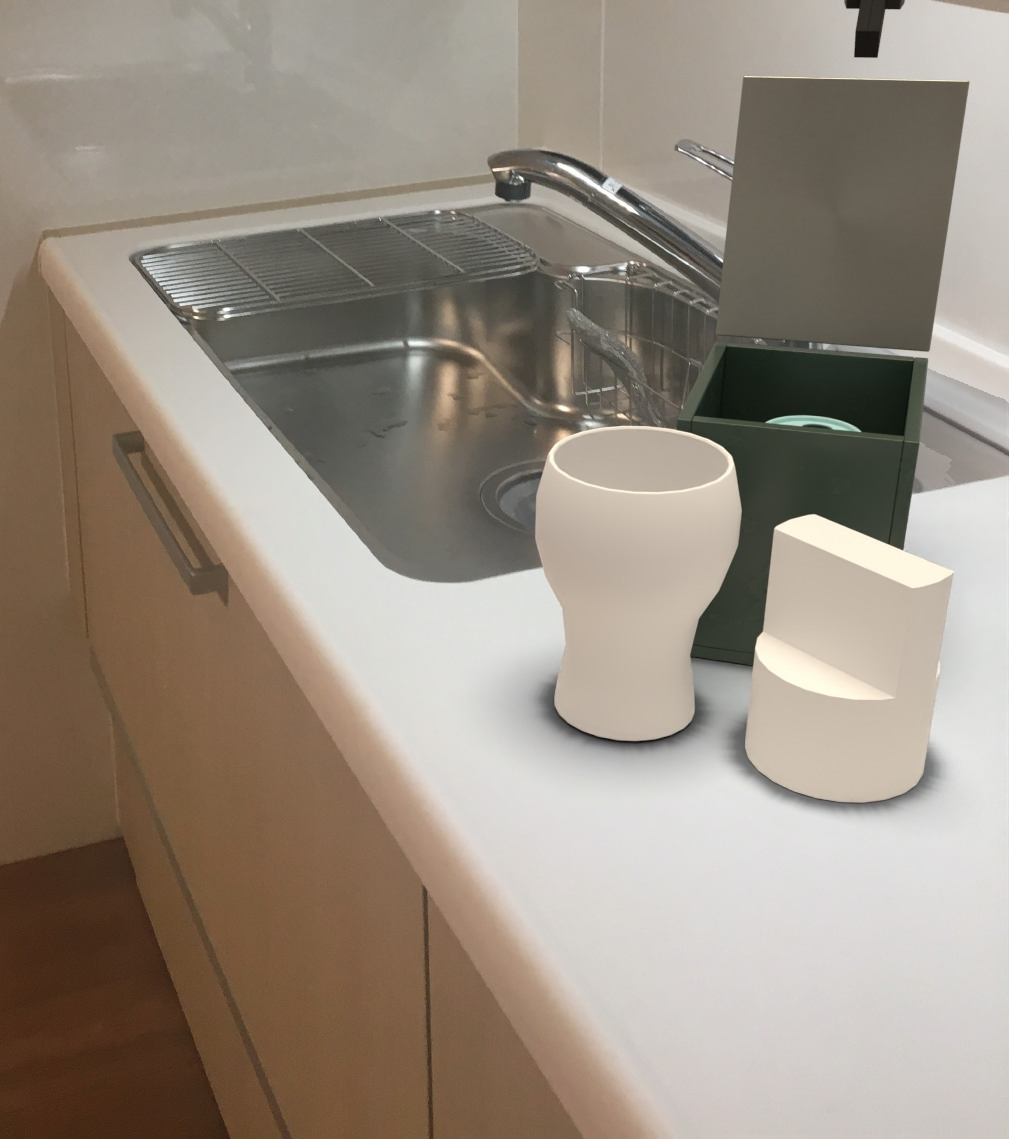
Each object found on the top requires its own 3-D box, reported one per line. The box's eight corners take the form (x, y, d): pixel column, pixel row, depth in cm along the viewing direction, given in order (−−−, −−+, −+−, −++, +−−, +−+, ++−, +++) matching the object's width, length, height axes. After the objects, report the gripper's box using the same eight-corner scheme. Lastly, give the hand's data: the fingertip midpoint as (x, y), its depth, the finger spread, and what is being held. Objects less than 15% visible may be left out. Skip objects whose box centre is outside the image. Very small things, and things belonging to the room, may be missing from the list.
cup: (569, 644, 94) (580, 410, 88) (744, 684, 89) (770, 440, 82) (498, 727, 86) (504, 476, 79) (686, 776, 81) (710, 513, 74)
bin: (882, 685, 89) (919, 442, 82) (658, 651, 93) (677, 419, 86) (895, 576, 101) (928, 357, 94) (696, 551, 105) (715, 340, 99)
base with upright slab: (961, 765, 81) (998, 557, 76) (843, 823, 77) (874, 607, 72) (823, 693, 88) (849, 498, 83) (708, 743, 84) (727, 541, 79)
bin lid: (969, 80, 89) (969, 81, 90) (743, 76, 94) (744, 76, 94) (929, 352, 94) (929, 350, 94) (714, 335, 98) (716, 334, 99)
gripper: (816, -277, 108) (763, 6, 101) (1021, -288, 103) (979, 8, 97) (815, -193, 115) (765, 78, 108) (1007, -200, 110) (967, 82, 104)
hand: (866, 44), depth 103 cm, fingers closed
